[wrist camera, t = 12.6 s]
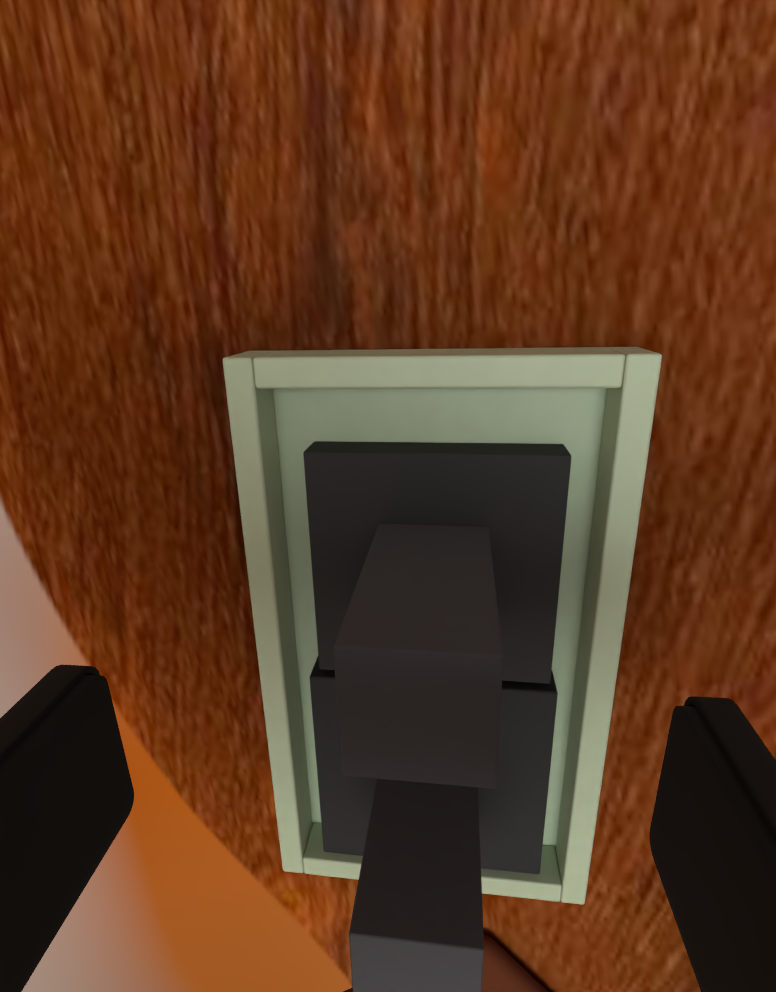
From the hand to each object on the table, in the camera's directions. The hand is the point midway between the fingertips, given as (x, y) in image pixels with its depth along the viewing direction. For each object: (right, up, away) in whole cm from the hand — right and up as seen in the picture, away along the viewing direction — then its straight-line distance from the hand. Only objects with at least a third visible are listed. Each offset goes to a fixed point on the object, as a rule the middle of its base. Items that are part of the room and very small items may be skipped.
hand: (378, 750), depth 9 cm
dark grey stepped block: (+2, +2, +8) cm, 8 cm away
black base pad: (+2, -5, +10) cm, 11 cm away
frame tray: (+2, 0, +9) cm, 9 cm away
